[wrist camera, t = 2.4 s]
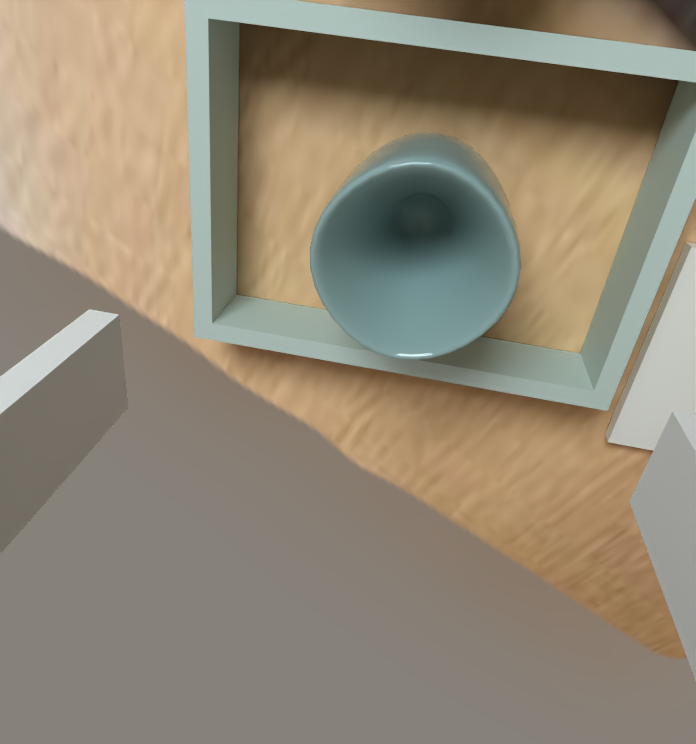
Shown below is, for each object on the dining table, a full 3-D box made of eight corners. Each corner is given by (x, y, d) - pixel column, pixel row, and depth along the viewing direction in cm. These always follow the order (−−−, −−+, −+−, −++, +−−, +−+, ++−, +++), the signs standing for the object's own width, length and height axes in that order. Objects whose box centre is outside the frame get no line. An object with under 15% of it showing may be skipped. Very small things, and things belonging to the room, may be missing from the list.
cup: (405, 298, 33) (386, 392, 25) (321, 182, 31) (267, 243, 22) (532, 220, 30) (561, 298, 21) (449, 84, 27) (444, 109, 19)
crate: (218, -9, 27) (183, -14, 24) (713, 54, 25) (753, 58, 22) (220, 306, 35) (194, 336, 32) (592, 371, 33) (607, 410, 30)
